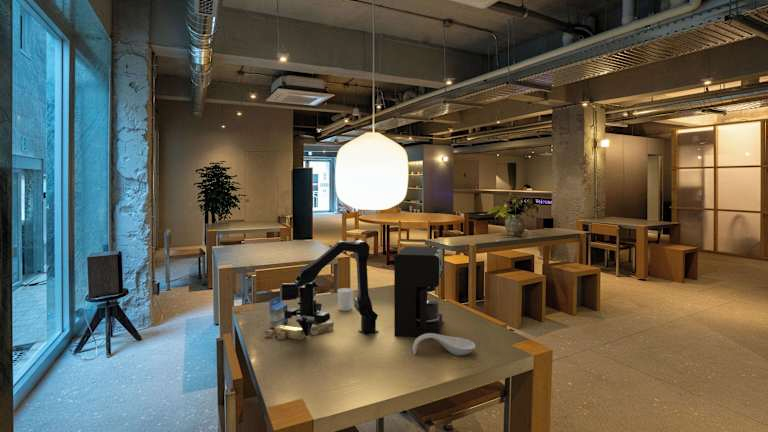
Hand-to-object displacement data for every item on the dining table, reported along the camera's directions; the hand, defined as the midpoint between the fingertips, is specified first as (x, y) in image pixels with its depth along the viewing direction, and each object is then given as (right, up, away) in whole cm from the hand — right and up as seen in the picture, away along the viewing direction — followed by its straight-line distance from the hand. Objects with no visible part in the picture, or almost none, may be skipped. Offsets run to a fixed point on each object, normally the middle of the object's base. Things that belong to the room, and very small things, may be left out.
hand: (307, 335), depth 164 cm
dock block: (+2, -1, +12) cm, 12 cm away
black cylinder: (+3, -1, +12) cm, 12 cm away
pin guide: (-13, -1, +5) cm, 14 cm away
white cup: (+12, +1, +42) cm, 44 cm away
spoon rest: (+54, -3, -13) cm, 56 cm away
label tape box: (-16, -1, +18) cm, 24 cm away
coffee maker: (+47, -1, +12) cm, 49 cm away
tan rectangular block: (-8, -1, +3) cm, 8 cm away
